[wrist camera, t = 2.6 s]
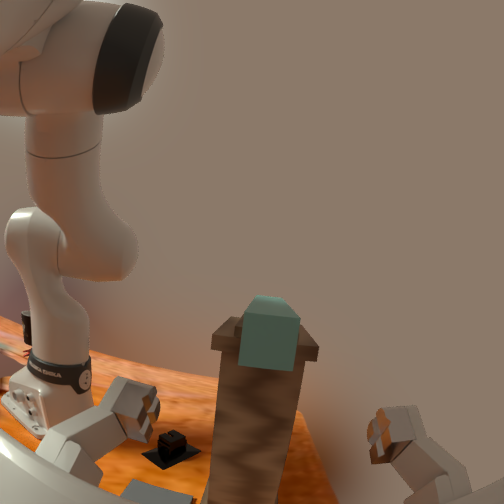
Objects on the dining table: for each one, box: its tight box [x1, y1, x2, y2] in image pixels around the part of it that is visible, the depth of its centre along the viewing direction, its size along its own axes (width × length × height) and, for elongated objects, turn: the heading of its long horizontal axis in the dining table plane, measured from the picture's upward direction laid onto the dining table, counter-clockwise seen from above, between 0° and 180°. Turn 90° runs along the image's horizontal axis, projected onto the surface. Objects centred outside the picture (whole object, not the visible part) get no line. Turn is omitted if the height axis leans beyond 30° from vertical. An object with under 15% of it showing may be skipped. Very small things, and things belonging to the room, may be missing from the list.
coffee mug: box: [21, 311, 32, 345], centre depth 69 cm, size 12×9×10 cm
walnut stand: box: [200, 314, 319, 504], centre depth 31 cm, size 10×14×28 cm
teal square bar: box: [238, 295, 300, 371], centre depth 28 cm, size 4×22×4 cm, turn 177°
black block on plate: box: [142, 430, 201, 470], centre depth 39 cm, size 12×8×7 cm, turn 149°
